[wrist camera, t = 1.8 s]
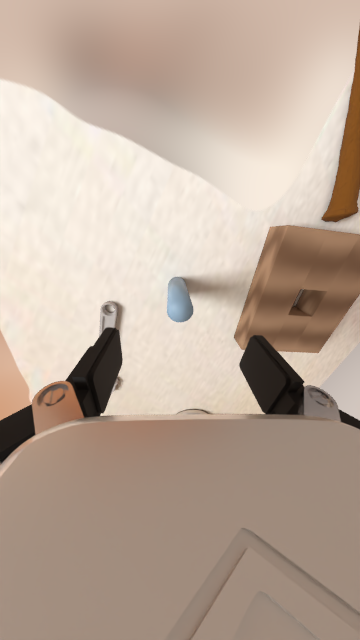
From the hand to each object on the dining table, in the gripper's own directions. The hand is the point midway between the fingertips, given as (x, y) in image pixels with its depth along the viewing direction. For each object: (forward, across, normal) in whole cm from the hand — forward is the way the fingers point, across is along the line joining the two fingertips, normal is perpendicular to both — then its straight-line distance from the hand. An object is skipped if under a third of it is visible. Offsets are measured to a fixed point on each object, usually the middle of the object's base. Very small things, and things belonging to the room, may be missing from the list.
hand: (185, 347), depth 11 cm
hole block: (+17, -21, +1) cm, 27 cm away
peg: (+17, 0, +1) cm, 17 cm away
